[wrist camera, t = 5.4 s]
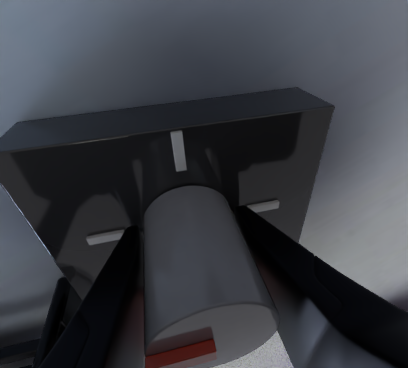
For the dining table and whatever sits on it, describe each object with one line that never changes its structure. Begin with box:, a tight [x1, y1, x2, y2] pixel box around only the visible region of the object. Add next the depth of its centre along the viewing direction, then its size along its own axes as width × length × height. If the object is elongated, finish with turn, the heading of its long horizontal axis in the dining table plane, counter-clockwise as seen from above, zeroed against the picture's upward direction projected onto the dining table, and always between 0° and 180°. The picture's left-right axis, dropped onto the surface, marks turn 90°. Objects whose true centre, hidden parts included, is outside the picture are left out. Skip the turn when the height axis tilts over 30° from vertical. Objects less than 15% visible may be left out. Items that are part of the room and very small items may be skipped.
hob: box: [0, 87, 335, 368], centre depth 14 cm, size 18×11×3 cm, turn 3°
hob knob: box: [142, 186, 280, 368], centre depth 8 cm, size 4×4×5 cm
